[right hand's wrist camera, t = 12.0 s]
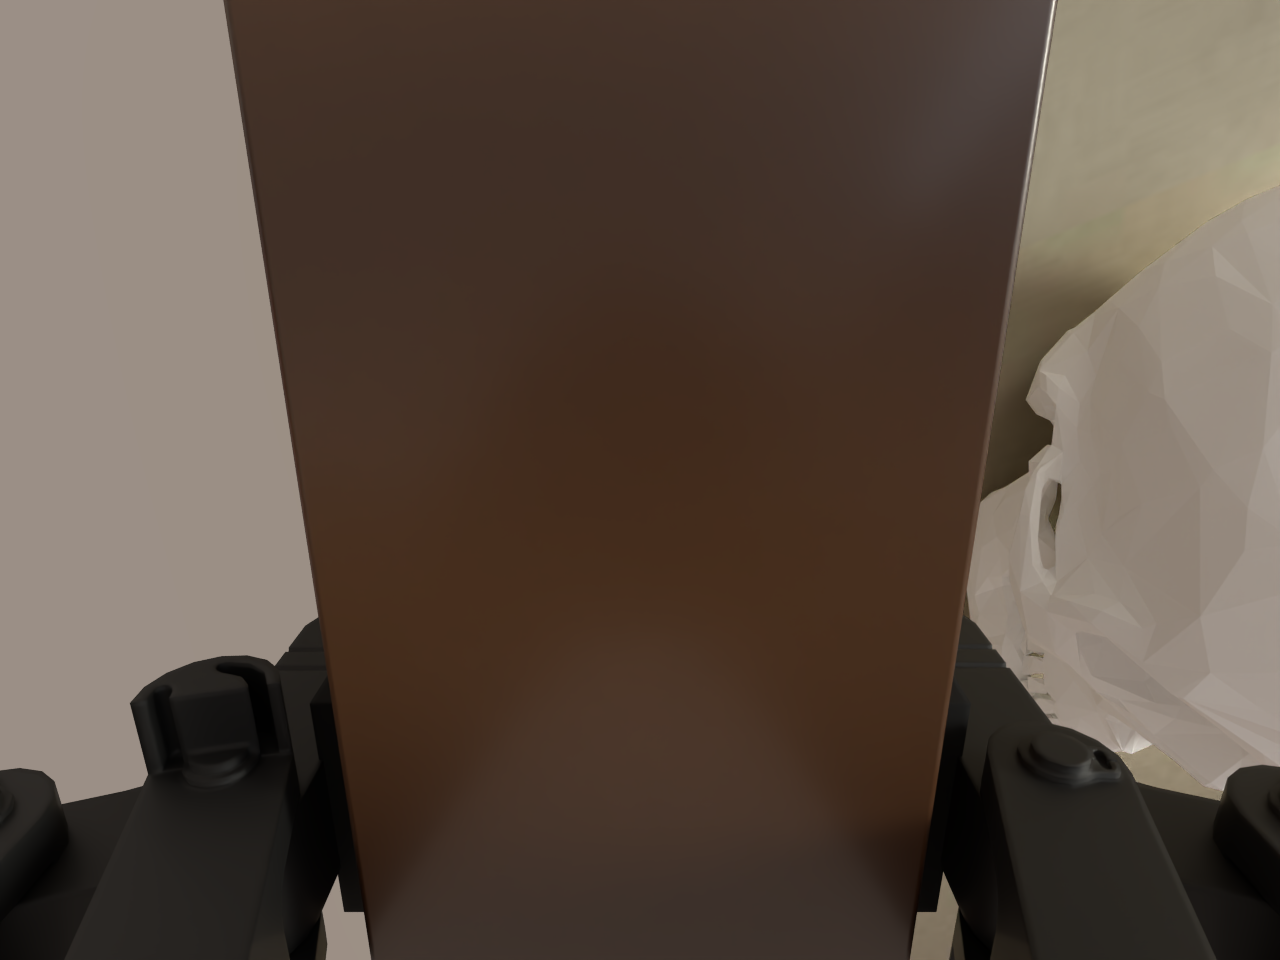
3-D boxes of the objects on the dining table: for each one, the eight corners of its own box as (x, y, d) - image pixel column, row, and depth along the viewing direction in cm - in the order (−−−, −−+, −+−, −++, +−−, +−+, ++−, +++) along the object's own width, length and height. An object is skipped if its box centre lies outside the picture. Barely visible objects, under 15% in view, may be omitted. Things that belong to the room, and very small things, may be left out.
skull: (860, 660, 34) (1051, 1030, 19) (1089, 112, 27) (1674, 35, 12) (1139, 720, 36) (1511, 1103, 21) (1426, 219, 29) (2307, 266, 14)
